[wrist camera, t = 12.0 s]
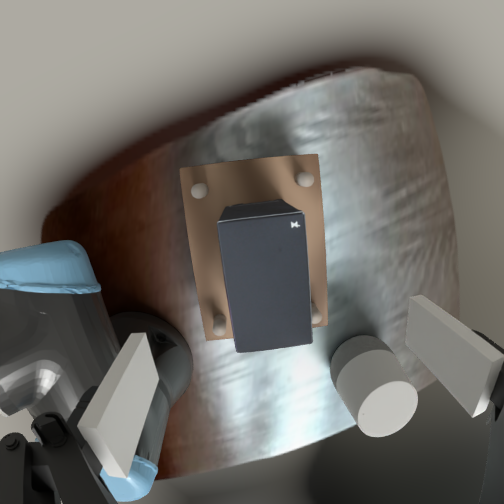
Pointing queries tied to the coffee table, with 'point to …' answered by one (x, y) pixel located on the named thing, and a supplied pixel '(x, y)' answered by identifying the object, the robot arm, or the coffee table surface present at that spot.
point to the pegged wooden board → (246, 191)
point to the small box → (266, 275)
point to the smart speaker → (373, 385)
